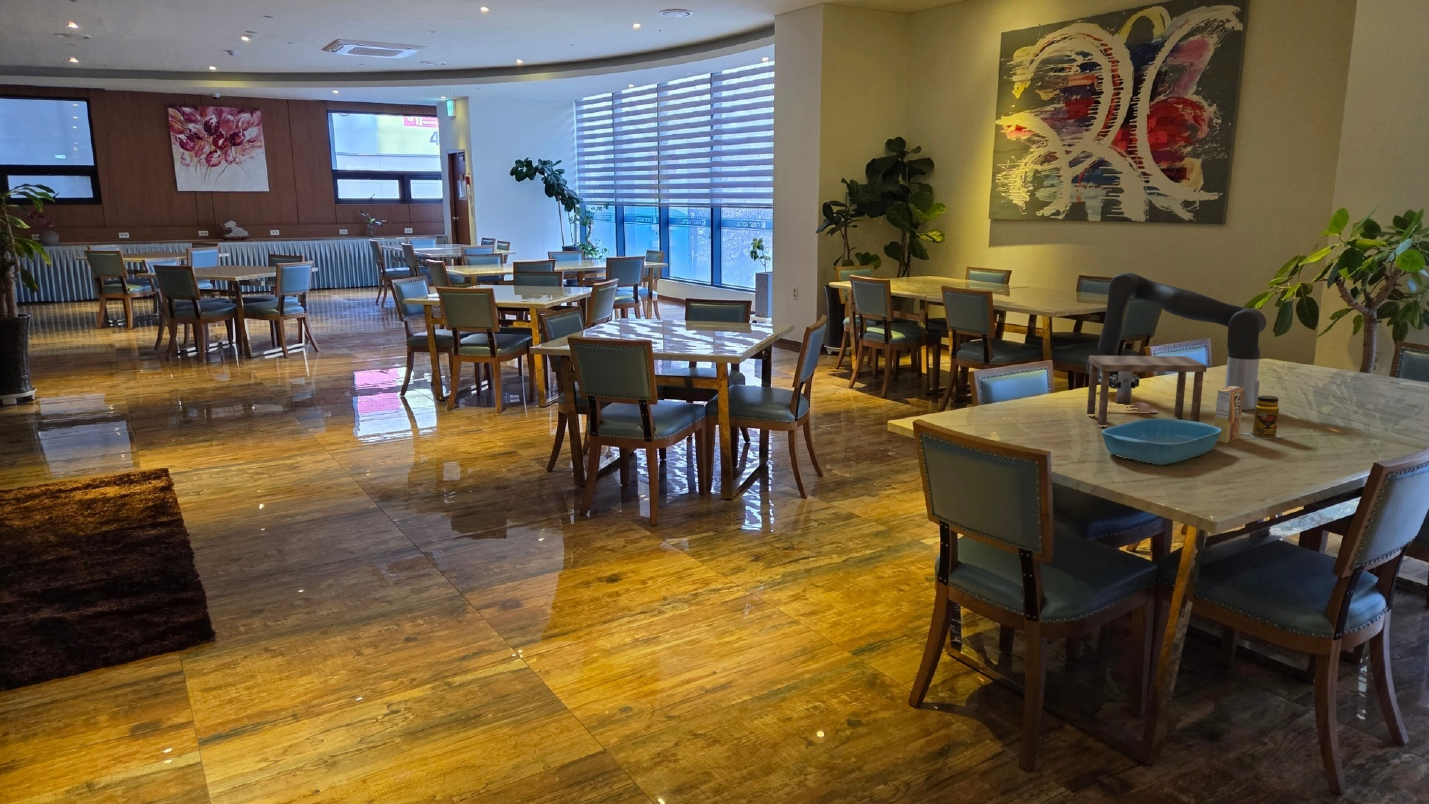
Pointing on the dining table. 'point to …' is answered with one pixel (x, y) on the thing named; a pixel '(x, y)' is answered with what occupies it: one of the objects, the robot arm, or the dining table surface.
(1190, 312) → the robot arm
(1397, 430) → the dining table surface
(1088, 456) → the dining table surface
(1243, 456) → the dining table surface
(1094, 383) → the low stand
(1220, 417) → the candy box
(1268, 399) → the condiment
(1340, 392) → the dining table surface
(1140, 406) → the rubber mat
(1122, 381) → the metal canister
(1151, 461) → the casserole dish
